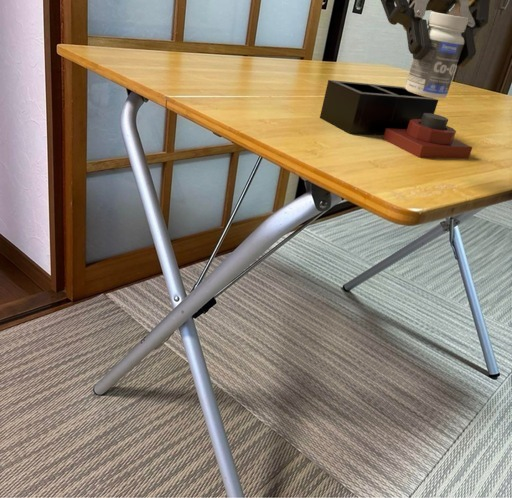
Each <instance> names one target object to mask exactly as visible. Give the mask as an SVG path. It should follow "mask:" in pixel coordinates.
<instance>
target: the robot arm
mask: <svg viewBox="0 0 512 498" xmlns="http://www.w3.org/2000/svg"><path fill="white" fill-rule="evenodd" d="M380 2H381V5H382V8H383V10H384V13H385V16H386V18H387V21H388V23H389V24H390V25H393V26H395V25H397V24H399V25H401V26H402V27H403V30H404V31H405V33H406V41H407V48H408V51H409V52H410V54H411V55H412V60H413V59H416V60H421V59H422V58H423V57H424V56H425V55H426V54H427V53H428V51H429V49H430V42H429V35H428V25H427V24H428V20H427V19H424V17H425V15H426V12H427V11H428V12H429V11H431V12H436V13H442V14H447V15H453V16H459V17H464V18H468V22H467V25H466V29H465V30H464V32H462V33H461V36H462V37H463V38H464V46H463V48H462V51H461V54H460V57H459V60H458V63H457V66H456V67H459V68H464V67H466V65H467V64H468V63H470V62H471V60H473V58H474V57H475V56H476V52H477V49H476V43H475V37H476V36H477V34H478V33H479V32H480V31H481V30H482V29H483V28H484V27H485V26H486V25H487V24H488V23H489V15H490V14H489V13H490V2H491V0H380Z"/></svg>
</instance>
